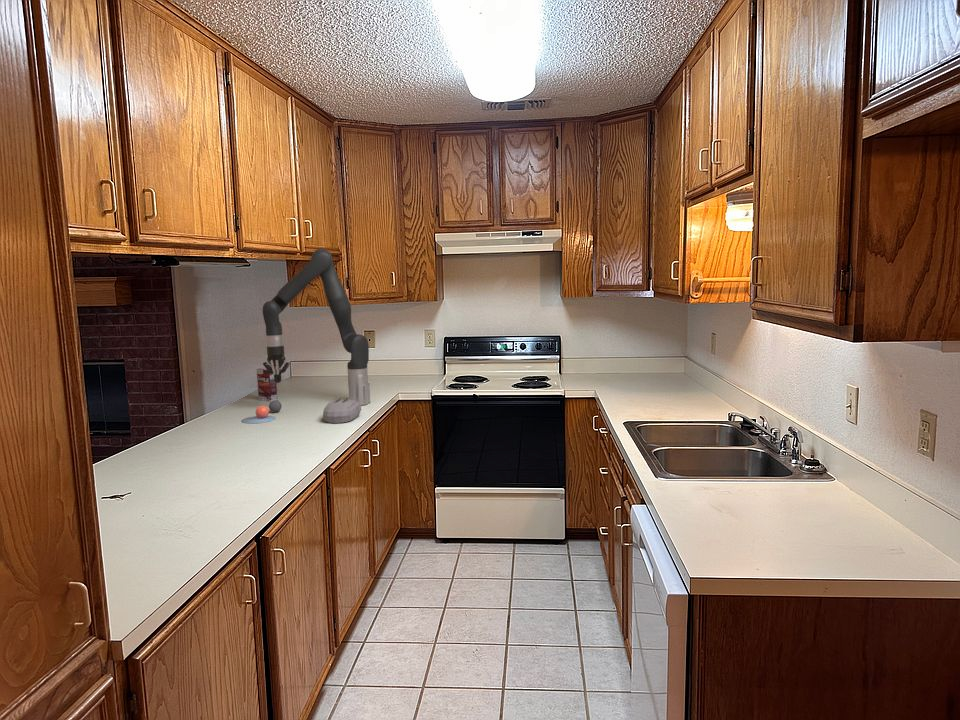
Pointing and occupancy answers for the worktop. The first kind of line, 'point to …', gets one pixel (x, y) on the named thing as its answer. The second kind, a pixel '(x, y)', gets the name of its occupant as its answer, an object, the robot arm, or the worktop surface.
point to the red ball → (262, 411)
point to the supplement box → (266, 385)
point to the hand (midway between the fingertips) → (278, 382)
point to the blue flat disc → (257, 419)
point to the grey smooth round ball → (275, 406)
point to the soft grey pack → (341, 411)
